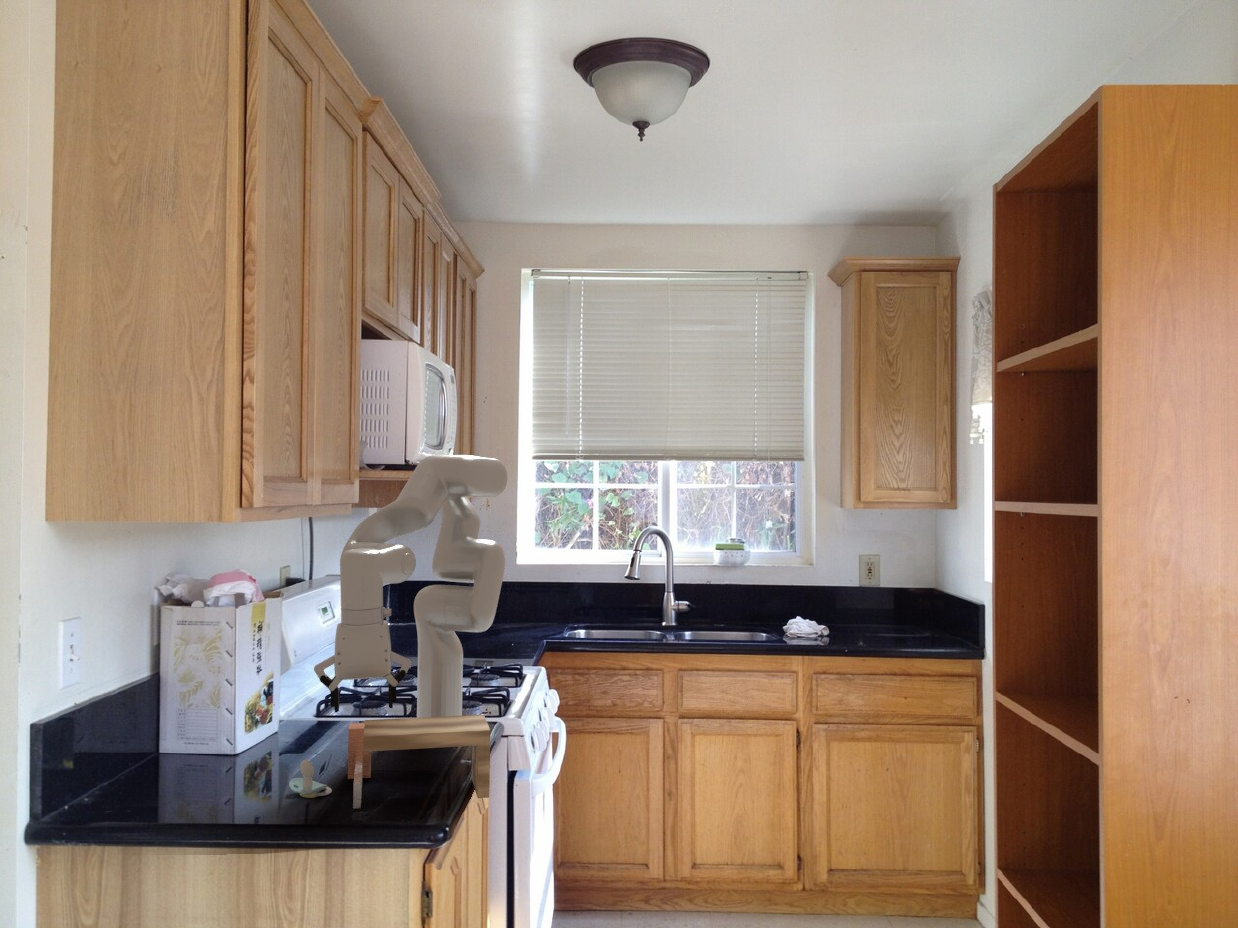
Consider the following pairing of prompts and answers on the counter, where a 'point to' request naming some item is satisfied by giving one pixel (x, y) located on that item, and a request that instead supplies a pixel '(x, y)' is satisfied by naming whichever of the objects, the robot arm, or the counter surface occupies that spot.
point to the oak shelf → (436, 739)
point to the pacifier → (308, 783)
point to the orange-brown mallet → (357, 760)
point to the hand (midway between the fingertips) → (364, 708)
